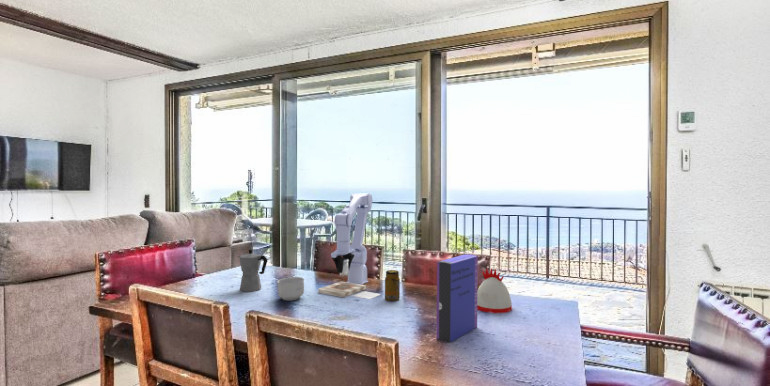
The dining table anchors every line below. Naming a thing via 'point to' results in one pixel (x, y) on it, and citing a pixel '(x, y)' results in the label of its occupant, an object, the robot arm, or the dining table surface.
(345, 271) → the knob
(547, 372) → the dining table surface
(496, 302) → the beige rounded dome
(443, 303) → the blue book
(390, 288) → the condiment
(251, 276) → the coffeepot
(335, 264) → the robot arm
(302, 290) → the teacup
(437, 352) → the dining table surface
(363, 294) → the tab
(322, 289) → the hole plate
